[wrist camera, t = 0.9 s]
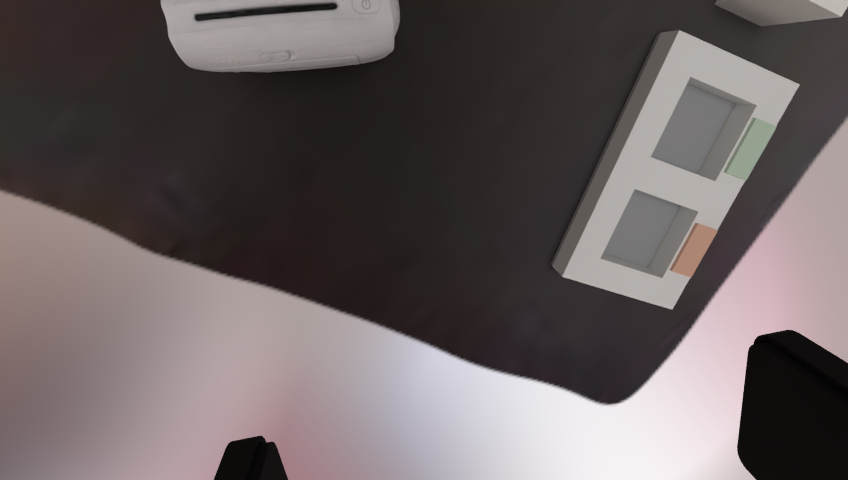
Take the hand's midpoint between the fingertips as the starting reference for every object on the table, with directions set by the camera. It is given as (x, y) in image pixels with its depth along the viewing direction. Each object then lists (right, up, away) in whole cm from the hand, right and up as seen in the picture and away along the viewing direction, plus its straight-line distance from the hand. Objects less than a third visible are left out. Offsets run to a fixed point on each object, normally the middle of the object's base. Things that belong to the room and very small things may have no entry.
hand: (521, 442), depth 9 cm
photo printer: (-9, +17, +21) cm, 29 cm away
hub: (+16, +9, +27) cm, 32 cm away
